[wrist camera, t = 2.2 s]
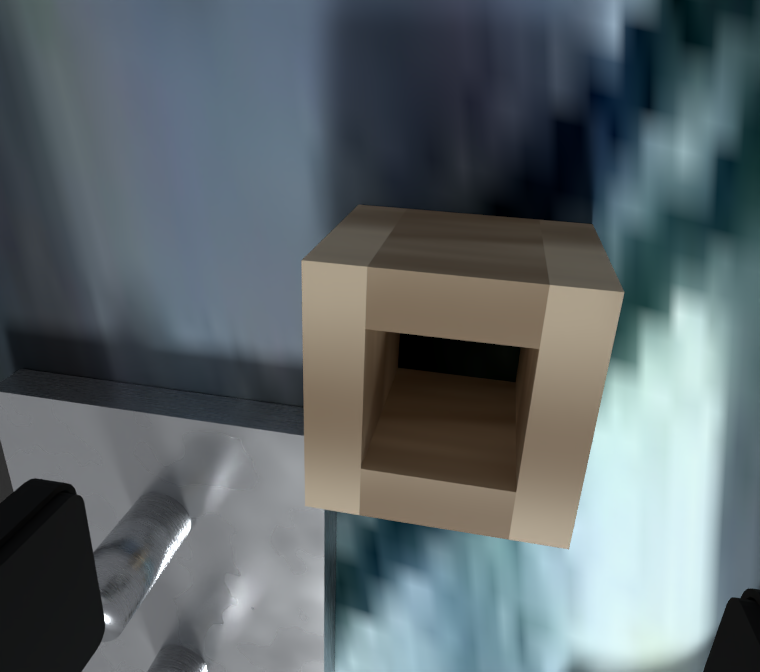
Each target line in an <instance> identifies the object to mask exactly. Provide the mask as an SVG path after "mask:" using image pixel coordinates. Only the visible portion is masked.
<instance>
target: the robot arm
mask: <svg viewBox="0 0 760 672" xmlns="http://www.w3.org/2000/svg"><path fill="white" fill-rule="evenodd" d="M104 632H105V617H104V611H103V606H102V600H101V594H100V589H99V583H98V577H97V571H96V566H95V560H94V554H93V549H92V543H91V537H90V532H89V526H88V520H87V514H86V509H85V503H84V500H83V498H82V497H81V496H80V495H77V493H76V490H75V488H74V487H73V486H72V485H71V484H68V483H63V482H57V481H50V480H44V479H37V478H34V479H30V480H28V481H27V482H25V483H23V484H22V485H21V486H20V487H19V488H18V489H16V490H15V491H14V492H13V493H12V494H11V495H10V496H8V497H7V498H6V499H5V500H4V501H3V502H1V503H0V672H82V670H83V669H84V668H85V666H86V665H87V663H88V662H89V660H90V659H91V657H92V656H93V655H94V653H95V652H96V650H97V649H98V647H99V645H100V643H101V641H102V639H103V635H104ZM703 672H760V590H758V589H747V590H746V591H744V593H743V594H742V596H741V598H731V599H730V600H729V601H728V603H727V605H726V608H725V611H724V614H723V617H722V619H721V622H720V625H719V628H718V631H717V634H716V637H715V639H714V642H713V645H712V648H711V651H710V654H709V657H708V660H707V662H706V665H705V668H704V671H703Z"/></svg>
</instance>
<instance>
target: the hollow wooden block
mask: <svg viewBox="0 0 760 672" xmlns="http://www.w3.org/2000/svg"><path fill="white" fill-rule="evenodd" d="M623 296H624V291H623V288H622V286H621V284H620V282H619V280H618V278H617V276H616V273H615V271H614V269H613V267H612V265H611V263H610V261H609V258H608V256H607V254H606V252H605V250H604V248H603V245H602V243H601V241H600V239H599V237H598V235H597V233H596V230H595V228H594V226H593V224H585V223H573V222H561V221H549V220H537V219H525V218H513V217H501V216H489V215H477V214H465V213H453V212H441V211H429V210H417V209H405V208H393V207H381V206H369V205H358V206H357V207H356V208H355V209H354V210H353V211H352V212H351V213H350V214H348V215H347V216H346V217H345V218H344V219H343V220H342V221H341V222H340V223H339V224H338V225H337V226H336V227H335V228H334V229H333V230H332V231H331V232H330V233H329V234H328V235H327V236H326V237H325V238H324V239H323V240H322V241H321V242H320V243H319V244H318V245H317V246H316V247H315V248H314V249H313V250H312V251H311V252H310V253H309V254H308V255H307V256H305V257H304V258H303V259H302V324H303V396H304V467H305V506H307V507H313V508H319V509H325V510H331V511H338V512H344V513H350V514H356V515H362V516H368V517H374V518H380V519H387V520H393V521H399V522H405V523H411V524H417V525H423V526H429V527H436V528H442V529H448V530H454V531H460V532H466V533H472V534H479V535H485V536H491V537H497V538H503V539H509V540H515V541H521V542H528V543H534V544H540V545H546V546H552V547H558V548H564V549H569V547H570V542H571V537H572V533H573V528H574V523H575V519H576V514H577V509H578V505H579V500H580V496H581V491H582V486H583V482H584V477H585V472H586V468H587V463H588V458H589V454H590V449H591V444H592V440H593V435H594V431H595V426H596V421H597V417H598V412H599V407H600V403H601V398H602V393H603V389H604V384H605V379H606V375H607V370H608V366H609V361H610V356H611V352H612V347H613V342H614V338H615V333H616V328H617V324H618V319H619V314H620V310H621V305H622V301H623ZM400 333H404V334H413V335H421V336H430V337H439V338H447V339H456V340H465V341H473V342H482V343H491V344H499V345H508V346H517V347H521V349H520V355H519V362H518V369H517V376H516V382H509V381H501V380H493V379H485V378H477V377H469V376H461V375H453V374H445V373H436V372H428V371H420V370H412V369H404V368H398V357H399V340H400Z"/></svg>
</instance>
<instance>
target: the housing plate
mask: <svg viewBox="0 0 760 672" xmlns="http://www.w3.org/2000/svg"><path fill="white" fill-rule="evenodd" d="M0 440H1V443H2V447H3V451H4V455H5V459H6V463H7V467H8V471H9V475H10V479H11V483H12V487H13V490H14V491H15V490H16V489H18V488H19V487H20V486H21V485H22V484H23V483H25V482H27V481H28V480H30V479H34V478H37V479H44V480H50V481H57V482H63V483H68V484H71V485H72V486H73V487H74V488H75V490H76V493H77V495H80V496H81V497H82V498H83V500H84V503H85V509H86V514H87V520H88V526H89V532H90V537H91V543H92V549H93V554H94V560H95V566H96V571H97V577H98V583H99V589H100V594H101V600H102V606H103V611H104V617H105V632H104V635H103V639H102V641H101V643H100V645H99V647H98V649H97V650H96V652H95V653H94V655H93V656H92V657H91V659H90V660H89V662H88V663H87V665H86V666H85V668H84V669H83V670H82V672H334V664H335V584H336V511H331V510H325V509H319V508H313V507H307V506H305V467H304V408H303V407H296V406H289V405H281V404H274V403H267V402H260V401H252V400H245V399H238V398H231V397H223V396H216V395H209V394H201V393H194V392H187V391H180V390H172V389H165V388H158V387H151V386H143V385H136V384H129V383H121V382H114V381H107V380H100V379H92V378H85V377H78V376H71V375H63V374H56V373H49V372H41V371H34V370H27V369H20V370H18V371H17V372H15V373H14V374H12V375H11V376H9V377H8V378H6V379H4V380H3V381H1V382H0Z"/></svg>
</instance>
